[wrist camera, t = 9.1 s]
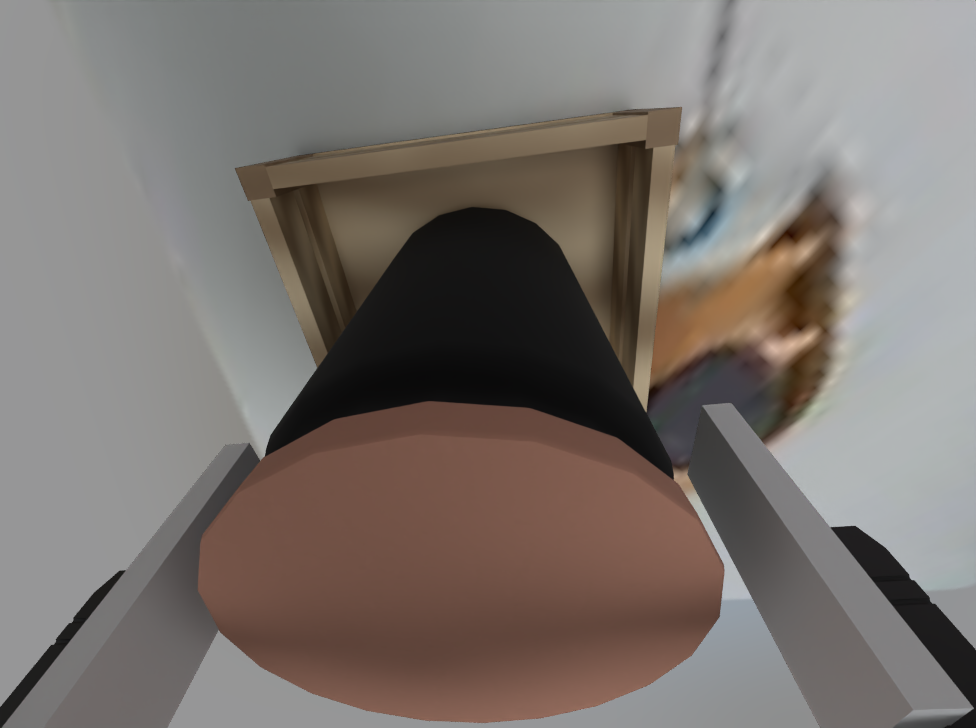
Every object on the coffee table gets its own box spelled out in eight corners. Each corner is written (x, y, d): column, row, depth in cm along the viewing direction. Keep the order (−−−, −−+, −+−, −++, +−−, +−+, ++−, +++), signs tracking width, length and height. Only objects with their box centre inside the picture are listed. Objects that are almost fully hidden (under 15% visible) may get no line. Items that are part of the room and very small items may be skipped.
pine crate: (298, 155, 21) (234, 168, 16) (632, 109, 20) (682, 107, 15) (381, 413, 30) (358, 475, 25) (616, 392, 28) (643, 452, 23)
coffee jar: (474, 400, 28) (451, 752, 12) (352, 288, 24) (90, 609, 8) (608, 307, 24) (811, 644, 9) (492, 154, 20) (491, 283, 4)
